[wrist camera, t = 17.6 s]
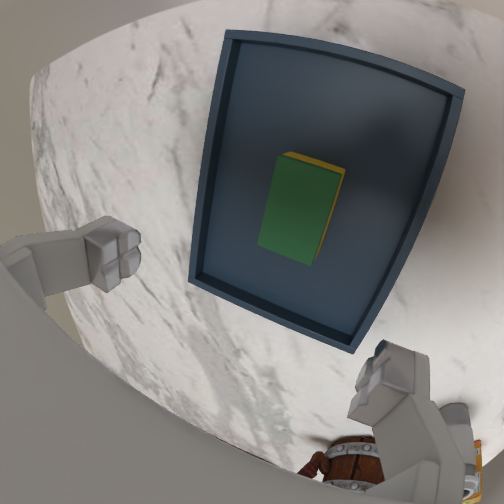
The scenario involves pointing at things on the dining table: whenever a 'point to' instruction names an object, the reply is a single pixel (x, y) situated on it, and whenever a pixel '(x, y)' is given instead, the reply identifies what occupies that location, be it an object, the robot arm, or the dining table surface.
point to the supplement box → (478, 472)
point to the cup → (462, 441)
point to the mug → (348, 464)
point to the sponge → (299, 206)
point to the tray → (327, 150)
